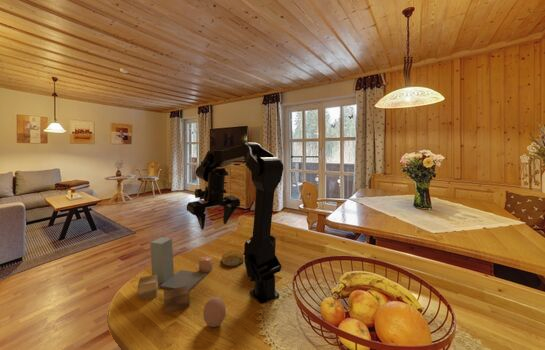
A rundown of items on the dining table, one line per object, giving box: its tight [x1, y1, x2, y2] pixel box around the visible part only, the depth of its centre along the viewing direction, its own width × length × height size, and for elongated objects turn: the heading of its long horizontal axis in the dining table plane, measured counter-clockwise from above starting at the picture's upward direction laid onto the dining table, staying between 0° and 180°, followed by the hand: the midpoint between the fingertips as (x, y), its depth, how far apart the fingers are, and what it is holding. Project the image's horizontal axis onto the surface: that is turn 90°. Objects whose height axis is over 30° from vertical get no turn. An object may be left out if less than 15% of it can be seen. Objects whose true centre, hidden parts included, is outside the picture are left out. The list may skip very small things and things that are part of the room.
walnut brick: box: [163, 286, 190, 315], centre depth 63 cm, size 6×4×4 cm, turn 117°
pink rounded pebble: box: [198, 255, 213, 274], centre depth 82 cm, size 4×4×4 cm
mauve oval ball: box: [202, 296, 227, 328], centre depth 55 cm, size 5×5×7 cm
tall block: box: [149, 237, 175, 284], centre depth 75 cm, size 4×4×13 cm
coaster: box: [159, 269, 207, 293], centre depth 75 cm, size 10×10×1 cm
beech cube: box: [137, 274, 159, 301], centre depth 68 cm, size 4×4×4 cm
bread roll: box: [221, 248, 245, 267], centre depth 89 cm, size 8×9×4 cm
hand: (213, 226), depth 86 cm, fingers open, 9 cm apart
